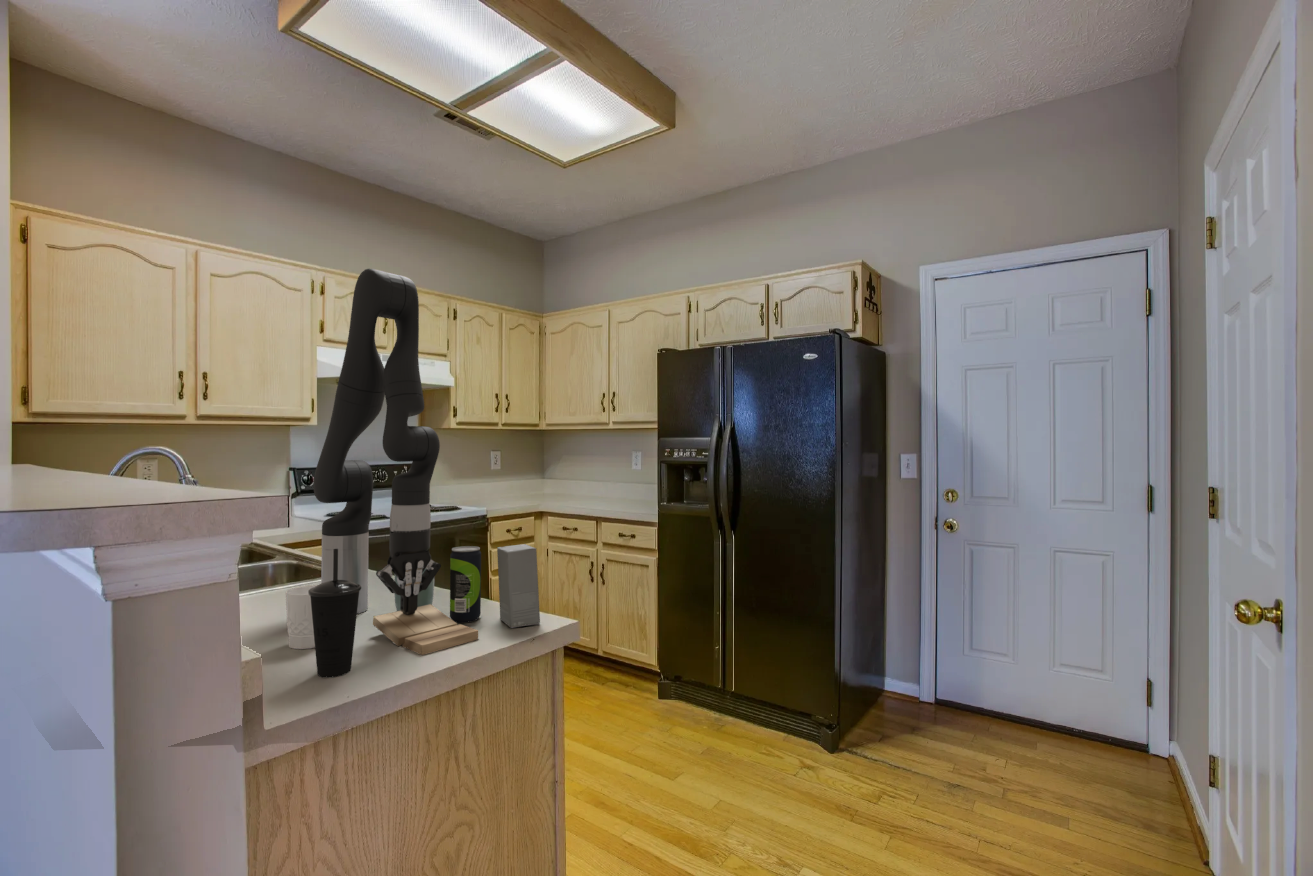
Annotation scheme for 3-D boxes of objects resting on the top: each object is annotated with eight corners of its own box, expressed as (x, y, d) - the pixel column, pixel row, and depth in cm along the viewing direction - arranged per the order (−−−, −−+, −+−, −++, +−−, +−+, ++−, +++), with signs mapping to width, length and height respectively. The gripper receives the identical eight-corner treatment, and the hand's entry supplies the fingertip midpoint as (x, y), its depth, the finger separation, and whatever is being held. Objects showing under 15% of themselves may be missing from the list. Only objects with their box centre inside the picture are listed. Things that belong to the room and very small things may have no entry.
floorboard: (401, 646, 113) (401, 636, 113) (457, 631, 121) (457, 623, 121) (422, 655, 108) (422, 645, 108) (478, 639, 117) (478, 630, 117)
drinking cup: (320, 664, 103) (322, 545, 103) (367, 663, 104) (369, 544, 104) (297, 681, 96) (299, 553, 96) (348, 680, 96) (350, 553, 96)
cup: (419, 622, 127) (420, 574, 127) (386, 620, 129) (387, 572, 129) (440, 612, 135) (440, 567, 135) (408, 610, 137) (409, 565, 137)
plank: (372, 624, 119) (373, 616, 119) (429, 611, 128) (430, 604, 128) (397, 646, 112) (399, 637, 112) (456, 631, 122) (457, 623, 122)
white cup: (326, 634, 119) (326, 582, 119) (339, 643, 114) (340, 589, 114) (279, 643, 114) (280, 589, 114) (291, 653, 108) (292, 597, 108)
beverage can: (486, 619, 130) (487, 548, 131) (459, 625, 126) (460, 552, 126) (470, 613, 135) (470, 544, 135) (444, 619, 130) (444, 548, 130)
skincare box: (540, 625, 126) (541, 548, 127) (506, 630, 123) (507, 550, 123) (528, 614, 134) (528, 542, 134) (495, 619, 130) (496, 544, 131)
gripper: (430, 521, 129) (429, 603, 129) (368, 527, 119) (366, 617, 119) (450, 525, 124) (449, 610, 124) (387, 532, 114) (385, 625, 114)
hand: (408, 613), depth 122 cm, fingers closed
